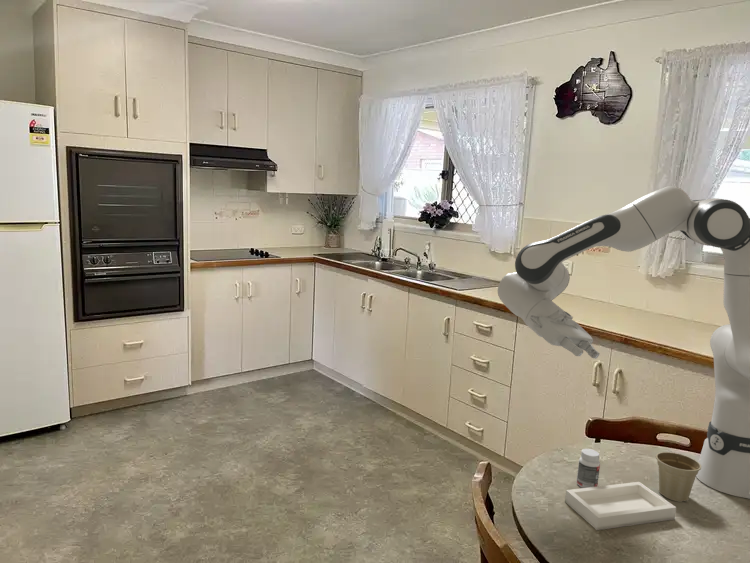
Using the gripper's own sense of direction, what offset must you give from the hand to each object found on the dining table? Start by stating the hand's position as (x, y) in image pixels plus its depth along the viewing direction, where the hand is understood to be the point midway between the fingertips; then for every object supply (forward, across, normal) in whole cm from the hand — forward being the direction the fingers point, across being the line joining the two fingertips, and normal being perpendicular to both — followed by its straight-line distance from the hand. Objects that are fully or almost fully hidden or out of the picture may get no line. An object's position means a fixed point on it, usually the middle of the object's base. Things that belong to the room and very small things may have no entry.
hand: (589, 355), depth 132 cm
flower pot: (+30, +18, +17) cm, 38 cm away
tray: (+26, +1, +22) cm, 34 cm away
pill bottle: (+17, +6, +26) cm, 32 cm away
